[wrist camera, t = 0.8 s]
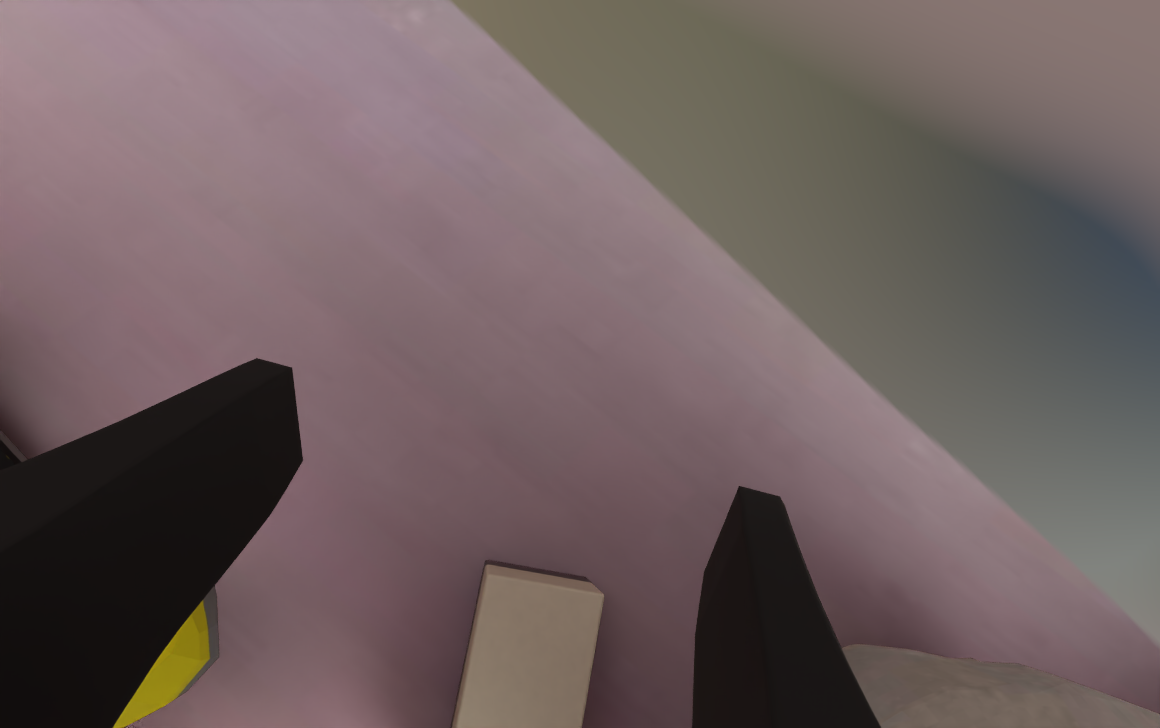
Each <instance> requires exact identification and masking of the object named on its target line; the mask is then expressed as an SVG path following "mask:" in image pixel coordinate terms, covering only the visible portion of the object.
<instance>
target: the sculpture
mask: <svg viewBox="0 0 1160 728" xmlns="http://www.w3.org/2000/svg"><path fill="white" fill-rule="evenodd" d="M842 650H843V653H844V655H845V657H846V659H847V661H848V663H849V665H850V667H851V669H852V671H853V673H854V675H855V677H856V679H857V681H858V683H859V685H860V687H861V689H862V691H863V693H864V695H865V697H866V699H867V701H868V703H869V705H870V707H871V709H872V711H873V713H874V715H875V716H876V718H877V720H878V722H879V724H880V726H881V728H1160V714H1158V713H1155V712H1153V711H1150V710H1147V709H1145V708H1142V707H1140V706H1137V705H1134V704H1132V703H1129V702H1126V701H1124V700H1121V699H1118V698H1116V697H1113V696H1111V695H1108V694H1105V693H1103V692H1100V691H1097V690H1094V689H1092V688H1089V687H1086V686H1083V685H1080V684H1078V683H1075V682H1072V681H1069V680H1067V679H1064V678H1061V677H1058V676H1056V675H1053V674H1050V673H1047V672H1044V671H1040V670H1037V669H1034V668H1031V667H1028V666H1025V665H1021V664H1014V663H994V662H980V661H978V660H975V659H973V658H948V657H943V656H939V655H934V654H929V653H925V652H920V651H916V650H911V649H903V648H894V647H885V646H876V645H866V644H853V645H849V646H846V647H842Z"/></svg>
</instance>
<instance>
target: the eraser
mask: <svg viewBox="0 0 1160 728" xmlns="http://www.w3.org/2000/svg"><path fill="white" fill-rule="evenodd" d="M603 602H604V594H603V593H602V592H601V591H600V590H599V589H597V588H596V587H595V586H594V585H593V584H592V583H591V582H590V581H589V580H588V579H587V578H586V577H582V576H576V575H571V574H565V573H559V572H554V571H548V570H542V569H537V568H531V567H525V566H520V565H514V564H509V563H503V562H497V561H492V560H485V562H484V567H483V572H482V577H481V582H480V587H479V592H478V596H477V601H476V606H475V611H474V616H473V621H472V626H471V630H470V635H469V640H468V645H467V650H466V655H465V659H464V664H463V669H462V674H461V679H460V684H459V689H458V693H457V698H456V703H455V708H454V713H453V718H452V723H451V727H450V728H582V724H583V718H584V712H585V706H586V700H587V695H588V689H589V683H590V677H591V672H592V666H593V660H594V654H595V648H596V643H597V637H598V631H599V625H600V620H601V614H602V608H603Z"/></svg>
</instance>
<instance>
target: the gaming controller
mask: <svg viewBox="0 0 1160 728" xmlns="http://www.w3.org/2000/svg"><path fill="white" fill-rule="evenodd" d="M26 460H28V459H27V458H26V457H25V456H24V455H23V454H22V453H21V452H20V450H19V449H18V448H17V447H16V446H15V445H14V444H13V443H12V442H11V441H10V440H9V439H8V438H7V436H6V435H5V434H4V433H3V432H2V431H1V430H0V470H2V469H5V468H8V467H10V466H13V465H16V464H18V463H21V462H23V461H26ZM218 658H219V636H218V613H217V595H216V590H215V585H214V587H213V588H212V589H211V590H210V592H209V593H208V594H207V595H206V597H205V598H204V599H203V600H202V602H201V603H200V604H199V605H198V607H197V608H196V609H195V610H194V612H193V613H192V614H191V615H190V617H189V618H188V619H187V620H186V622H185V623H184V624H183V625H182V627H181V628H180V629H179V630H178V632H177V633H176V634H175V636H174V637H173V638H172V640H171V641H170V643H169V644H168V645H167V647H166V648H165V649H164V651H163V652H162V653H161V655H160V656H159V658H158V659H157V660H156V662H155V664H154V665H153V667H152V668H151V670H150V671H149V673H148V674H147V676H146V677H145V679H144V680H143V682H142V683H141V685H140V686H139V688H138V690H137V691H136V693H135V694H134V696H133V697H132V699H131V700H130V702H129V703H128V705H127V706H126V708H125V709H124V711H123V712H122V714H121V715H120V717H119V719H118V720H117V722H116V723H115V725H114V727H113V728H124V727H126V726H128V725H129V724H131V723H133V722H135V721H137V720H139V719H141V718H143V717H145V716H147V715H148V714H150V713H152V712H154V711H156V710H158V709H160V708H162V707H164V706H165V705H167V704H168V703H170V702H171V701H173V700H174V699H176V698H177V697H179V696H180V695H182V694H183V693H185V692H186V691H188V690H189V689H190V688H191V687H192V685H193V684H194V683H195V682H196V681H197V680H198V679H199V678H200V677H201V676H202V675H203V674H204V673H205V672H206V670H207V669H208V668H209V667H210V666H211V665H212V664H213V663H214V662H215V661H216V660H217V659H218Z"/></svg>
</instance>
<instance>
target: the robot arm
mask: <svg viewBox="0 0 1160 728" xmlns="http://www.w3.org/2000/svg"><path fill="white" fill-rule="evenodd" d="M302 461H303V457H302V448H301V440H300V431H299V423H298V414H297V406H296V397H295V389H294V380H293V372H292V367H288V366H284V365H280V364H276V363H273V362H269V361H265V360H261V359H258V358H256V359H254V360H251V361H249V362H247V363H244V364H242V365H240V366H237V367H235V368H233V369H231V370H228V371H226V372H224V373H222V374H220V375H218V376H215V377H213V378H211V379H209V380H207V381H205V382H203V383H201V384H198V385H196V386H194V387H192V388H190V389H188V390H186V391H184V392H181V393H179V394H177V395H175V396H173V397H171V398H169V399H167V400H164V401H162V402H160V403H158V404H156V405H154V406H151V407H149V408H147V409H145V410H143V411H141V412H138V413H136V414H134V415H132V416H130V417H128V418H125V419H123V420H121V421H119V422H117V423H114V424H112V425H110V426H107V427H105V428H103V429H100V430H98V431H96V432H93V433H91V434H88V435H86V436H84V437H81V438H79V439H77V440H74V441H72V442H69V443H67V444H65V445H62V446H60V447H58V448H55V449H53V450H51V451H48V452H46V453H43V454H41V455H39V456H36V457H34V458H31V459H29V460H26V461H23V462H21V463H18V464H16V465H13V466H10V467H8V468H5V469H2V470H0V728H113V727H114V725H115V723H116V722H117V720H118V719H119V717H120V715H121V714H122V712H123V711H124V709H125V708H126V706H127V705H128V703H129V702H130V700H131V699H132V697H133V696H134V694H135V693H136V691H137V690H138V688H139V686H140V685H141V683H142V682H143V680H144V679H145V677H146V676H147V674H148V673H149V671H150V670H151V668H152V667H153V665H154V664H155V662H156V660H157V659H158V658H159V656H160V655H161V653H162V652H163V651H164V649H165V648H166V647H167V645H168V644H169V643H170V641H171V640H172V638H173V637H174V636H175V634H176V633H177V632H178V630H179V629H180V628H181V627H182V625H183V624H184V623H185V622H186V620H187V619H188V618H189V617H190V615H191V614H192V613H193V612H194V610H195V609H196V608H197V607H198V605H199V604H200V603H201V602H202V600H203V599H204V598H205V597H206V595H207V594H208V593H209V592H210V590H211V589H212V588H213V587H214V585H215V584H216V583H217V582H218V580H219V579H220V578H221V577H222V575H223V574H224V573H225V572H226V570H227V569H228V568H229V567H230V565H231V564H232V563H233V562H234V560H235V559H236V558H237V557H238V555H239V554H240V553H241V552H242V550H243V549H244V548H245V547H246V545H247V544H248V543H249V541H250V540H251V539H252V538H253V536H254V535H255V534H256V533H257V531H258V530H259V529H260V527H261V526H262V525H263V524H264V522H265V521H266V520H267V518H268V517H269V516H270V514H271V513H272V511H273V510H274V508H275V507H276V505H277V503H278V502H279V500H280V499H281V497H282V495H283V494H284V492H285V491H286V489H287V487H288V485H289V484H290V482H291V480H292V479H293V477H294V475H295V473H296V472H297V470H298V468H299V466H300V465H301V463H302ZM692 728H881V726H880V724H879V722H878V720H877V718H876V716H875V715H874V713H873V711H872V709H871V707H870V705H869V703H868V701H867V699H866V697H865V695H864V693H863V691H862V689H861V687H860V685H859V683H858V681H857V679H856V677H855V675H854V673H853V671H852V669H851V667H850V665H849V663H848V661H847V659H846V657H845V655H844V653H843V650H842V648H841V646H840V644H839V642H838V640H837V637H836V635H835V633H834V631H833V628H832V626H831V624H830V621H829V619H828V617H827V615H826V612H825V610H824V608H823V606H822V603H821V601H820V599H819V596H818V594H817V591H816V589H815V587H814V584H813V582H812V579H811V577H810V574H809V571H808V569H807V566H806V564H805V561H804V559H803V556H802V553H801V551H800V548H799V545H798V543H797V540H796V537H795V534H794V531H793V529H792V526H791V523H790V520H789V517H788V514H787V511H786V508H785V505H784V503H783V501H782V500H781V498H780V497H779V496H775V495H772V494H768V493H764V492H760V491H757V490H753V489H749V488H745V487H741V486H739V488H738V490H737V493H736V495H735V497H734V500H733V502H732V505H731V507H730V510H729V512H728V515H727V517H726V519H725V522H724V524H723V527H722V529H721V532H720V534H719V537H718V539H717V541H716V544H715V546H714V549H713V551H712V554H711V556H710V559H709V561H708V563H707V566H706V568H705V571H704V576H703V583H702V590H701V596H700V603H699V610H698V617H697V625H696V632H695V653H694V684H693V719H692Z"/></svg>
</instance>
